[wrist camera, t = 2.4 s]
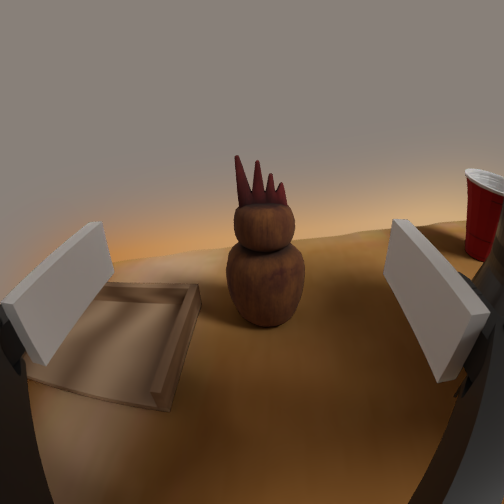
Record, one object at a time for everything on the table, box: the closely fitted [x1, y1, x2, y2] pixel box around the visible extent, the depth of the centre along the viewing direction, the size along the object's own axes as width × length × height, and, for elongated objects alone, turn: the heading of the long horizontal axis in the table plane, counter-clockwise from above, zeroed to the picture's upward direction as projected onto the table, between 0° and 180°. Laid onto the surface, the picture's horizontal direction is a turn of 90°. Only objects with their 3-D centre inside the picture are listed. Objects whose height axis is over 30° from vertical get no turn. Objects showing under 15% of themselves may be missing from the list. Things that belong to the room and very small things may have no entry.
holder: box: [22, 282, 202, 412], centre depth 25 cm, size 18×13×2 cm
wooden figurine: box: [226, 155, 305, 327], centre depth 25 cm, size 7×6×15 cm
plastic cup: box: [465, 169, 504, 262], centre depth 33 cm, size 11×11×12 cm
